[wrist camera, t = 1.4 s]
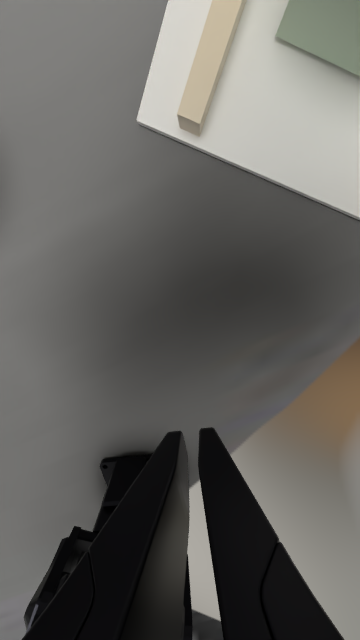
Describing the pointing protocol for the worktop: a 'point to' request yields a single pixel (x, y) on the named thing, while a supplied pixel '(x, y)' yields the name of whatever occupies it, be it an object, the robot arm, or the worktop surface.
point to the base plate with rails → (256, 99)
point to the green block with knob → (325, 30)
